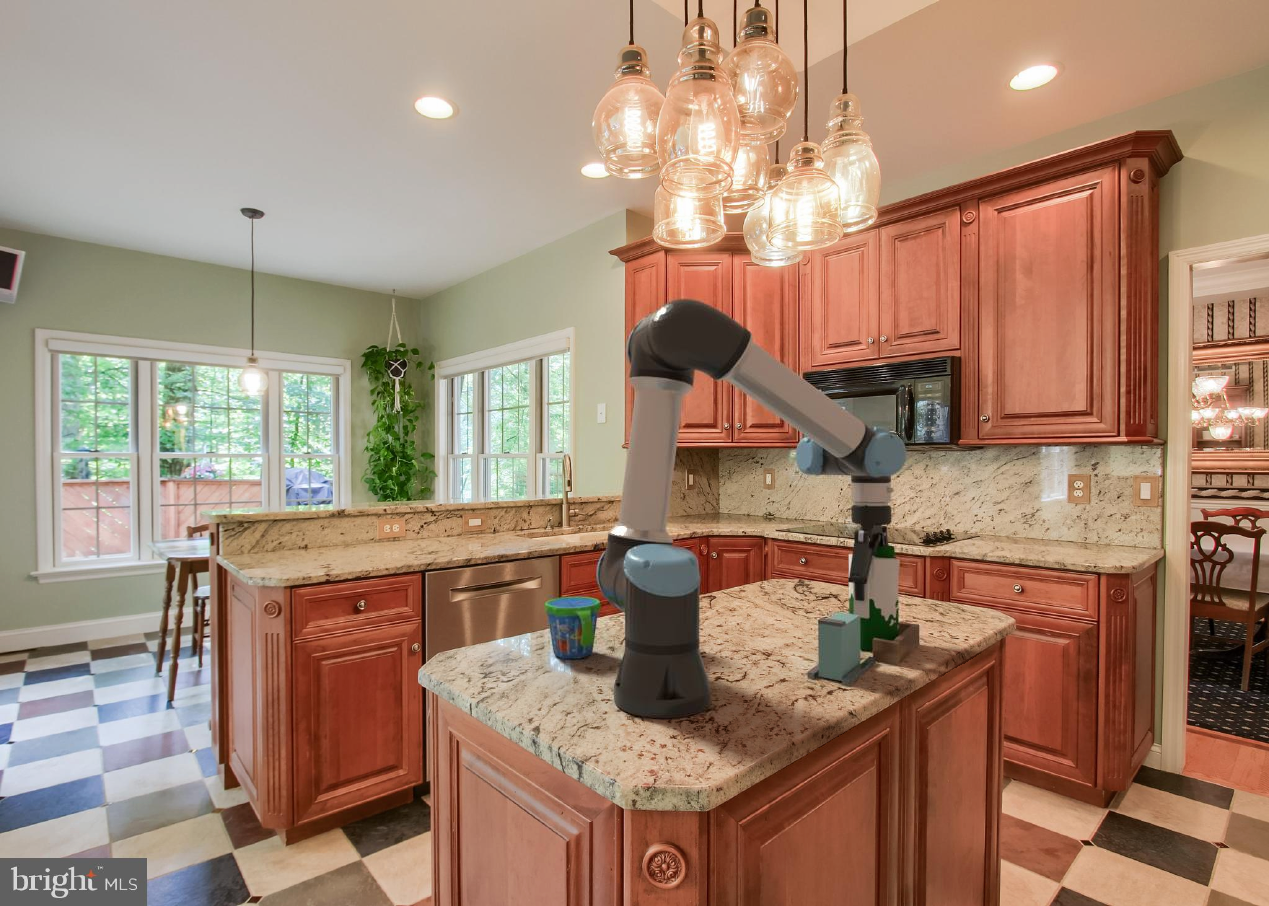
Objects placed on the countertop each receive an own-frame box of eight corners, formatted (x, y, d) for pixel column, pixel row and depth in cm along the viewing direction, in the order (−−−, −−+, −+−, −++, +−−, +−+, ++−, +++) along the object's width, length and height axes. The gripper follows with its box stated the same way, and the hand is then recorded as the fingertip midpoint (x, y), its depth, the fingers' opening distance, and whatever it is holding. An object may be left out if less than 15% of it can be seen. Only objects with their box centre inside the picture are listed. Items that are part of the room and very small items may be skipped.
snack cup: (537, 646, 128) (537, 595, 128) (587, 641, 131) (587, 591, 131) (555, 670, 113) (555, 613, 113) (611, 663, 117) (611, 608, 117)
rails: (807, 677, 109) (807, 671, 109) (837, 655, 121) (837, 650, 121) (849, 686, 104) (849, 680, 104) (876, 663, 116) (876, 657, 116)
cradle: (820, 651, 123) (820, 630, 123) (848, 633, 136) (847, 614, 137) (897, 665, 115) (897, 643, 115) (919, 644, 128) (919, 624, 128)
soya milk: (904, 652, 122) (903, 549, 123) (857, 652, 123) (856, 549, 123) (889, 640, 131) (888, 543, 131) (844, 639, 132) (844, 543, 132)
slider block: (818, 676, 108) (817, 619, 109) (838, 661, 116) (837, 608, 117) (842, 681, 106) (841, 623, 106) (860, 665, 114) (860, 612, 114)
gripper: (871, 508, 114) (872, 626, 114) (906, 501, 134) (907, 601, 134) (830, 507, 119) (831, 620, 119) (870, 500, 139) (871, 597, 139)
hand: (872, 610), depth 126 cm, fingers open, 13 cm apart
